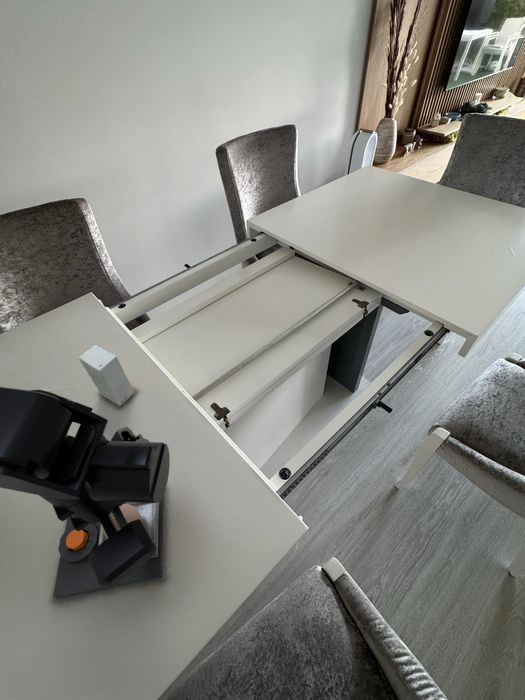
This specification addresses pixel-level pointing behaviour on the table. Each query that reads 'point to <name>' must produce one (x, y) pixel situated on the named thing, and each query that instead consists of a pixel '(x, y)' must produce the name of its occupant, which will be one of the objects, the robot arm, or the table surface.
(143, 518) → the brushed steel platform
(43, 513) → the table surface
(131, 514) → the egg
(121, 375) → the cosmetic box
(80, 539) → the button
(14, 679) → the table surface
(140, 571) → the scale
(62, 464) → the robot arm
